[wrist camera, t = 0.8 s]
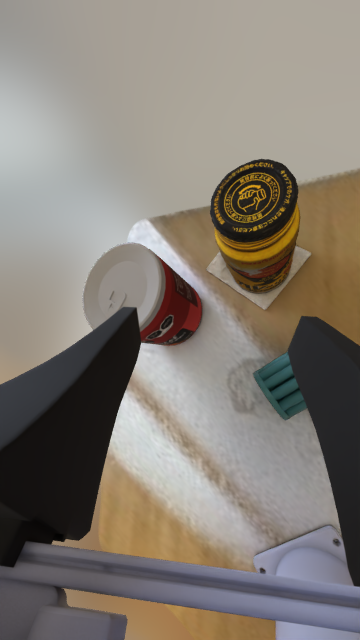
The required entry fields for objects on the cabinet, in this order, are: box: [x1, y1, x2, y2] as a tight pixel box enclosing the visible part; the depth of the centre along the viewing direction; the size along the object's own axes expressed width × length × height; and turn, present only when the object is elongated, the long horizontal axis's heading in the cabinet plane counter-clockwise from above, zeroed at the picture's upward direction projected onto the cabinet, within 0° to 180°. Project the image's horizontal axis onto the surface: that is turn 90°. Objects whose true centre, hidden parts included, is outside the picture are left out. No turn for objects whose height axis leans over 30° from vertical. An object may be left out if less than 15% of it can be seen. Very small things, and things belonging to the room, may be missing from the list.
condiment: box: [206, 159, 312, 310], centre depth 19 cm, size 7×8×12 cm
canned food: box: [83, 243, 202, 346], centre depth 22 cm, size 8×8×11 cm
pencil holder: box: [253, 352, 307, 420], centre depth 19 cm, size 7×6×5 cm
